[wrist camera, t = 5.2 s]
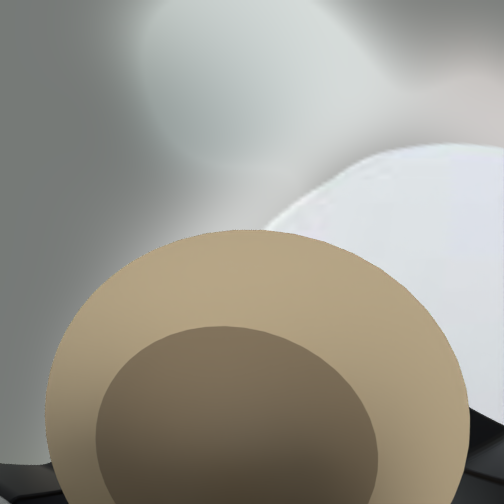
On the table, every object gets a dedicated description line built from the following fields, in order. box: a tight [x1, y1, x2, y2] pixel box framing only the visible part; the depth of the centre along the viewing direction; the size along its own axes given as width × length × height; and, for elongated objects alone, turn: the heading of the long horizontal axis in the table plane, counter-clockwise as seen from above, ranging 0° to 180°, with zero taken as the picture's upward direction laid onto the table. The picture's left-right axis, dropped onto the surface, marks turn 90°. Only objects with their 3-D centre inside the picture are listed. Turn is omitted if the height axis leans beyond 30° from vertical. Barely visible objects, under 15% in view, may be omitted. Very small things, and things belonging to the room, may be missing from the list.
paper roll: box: [45, 230, 470, 504], centre depth 8 cm, size 6×6×13 cm
